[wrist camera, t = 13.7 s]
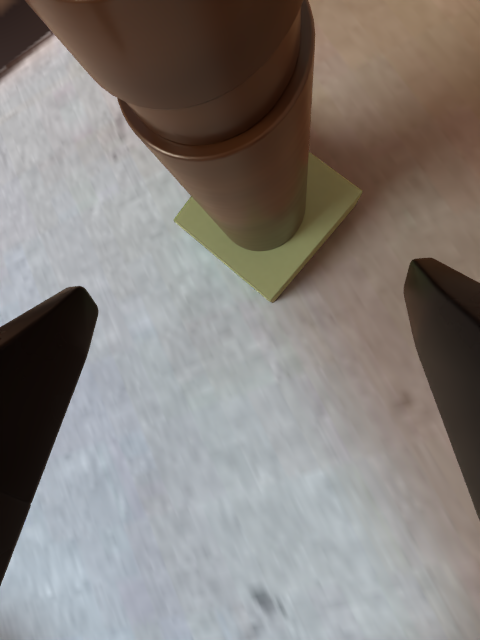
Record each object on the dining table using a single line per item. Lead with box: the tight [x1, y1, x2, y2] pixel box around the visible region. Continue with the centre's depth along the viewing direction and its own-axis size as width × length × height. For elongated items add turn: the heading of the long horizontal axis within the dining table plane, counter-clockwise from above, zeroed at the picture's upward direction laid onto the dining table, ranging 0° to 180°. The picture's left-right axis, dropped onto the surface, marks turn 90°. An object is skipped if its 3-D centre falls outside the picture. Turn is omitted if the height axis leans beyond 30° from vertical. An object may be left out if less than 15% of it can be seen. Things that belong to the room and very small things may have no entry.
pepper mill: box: [25, 0, 315, 251], centre depth 9 cm, size 5×5×15 cm
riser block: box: [174, 152, 363, 303], centre depth 18 cm, size 8×8×2 cm
